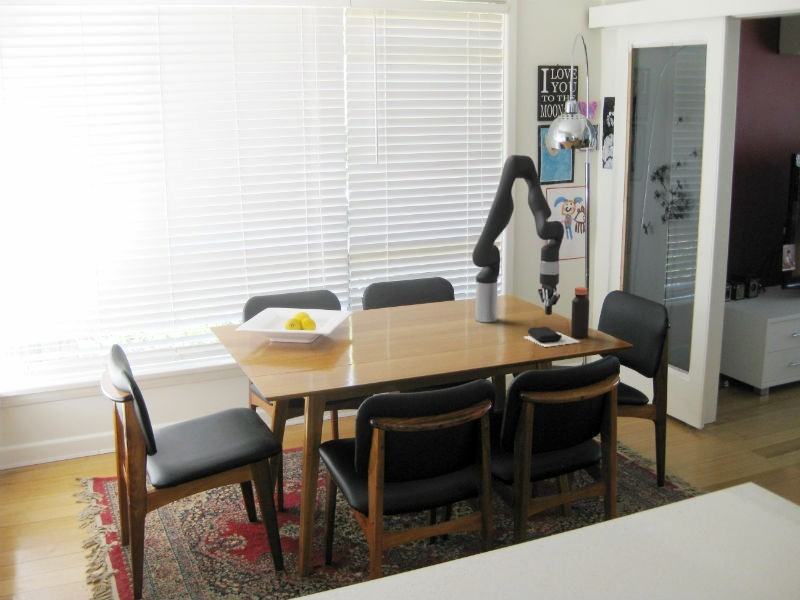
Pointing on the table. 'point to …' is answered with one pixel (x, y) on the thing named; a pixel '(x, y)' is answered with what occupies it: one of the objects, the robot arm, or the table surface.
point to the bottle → (580, 314)
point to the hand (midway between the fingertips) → (548, 314)
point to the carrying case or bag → (544, 334)
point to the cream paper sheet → (562, 341)
